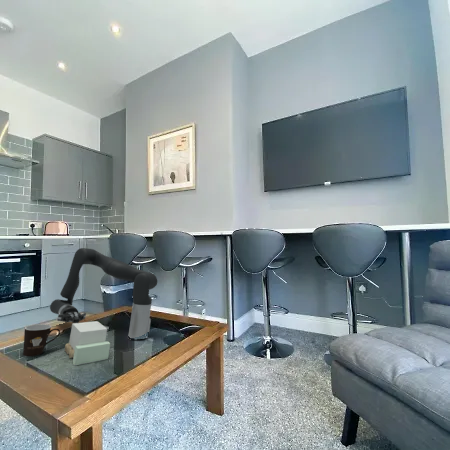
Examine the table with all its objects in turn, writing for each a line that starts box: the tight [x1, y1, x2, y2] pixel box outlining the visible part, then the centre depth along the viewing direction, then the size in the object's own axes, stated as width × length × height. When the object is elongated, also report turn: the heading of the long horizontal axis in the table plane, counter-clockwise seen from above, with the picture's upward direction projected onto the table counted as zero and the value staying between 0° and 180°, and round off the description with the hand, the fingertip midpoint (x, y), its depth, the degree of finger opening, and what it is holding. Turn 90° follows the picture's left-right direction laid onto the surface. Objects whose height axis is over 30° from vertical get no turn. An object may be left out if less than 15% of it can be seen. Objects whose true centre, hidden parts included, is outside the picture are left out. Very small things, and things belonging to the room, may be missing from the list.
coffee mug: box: [22, 323, 61, 357], centre depth 99 cm, size 12×9×10 cm
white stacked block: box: [68, 320, 108, 351], centre depth 103 cm, size 10×13×8 cm
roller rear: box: [64, 342, 71, 352], centre depth 107 cm, size 12×3×3 cm, turn 134°
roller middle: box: [66, 346, 73, 355], centre depth 105 cm, size 12×3×3 cm
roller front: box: [68, 349, 74, 359], centre depth 101 cm, size 12×3×3 cm
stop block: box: [72, 340, 111, 366], centre depth 97 cm, size 12×3×6 cm, turn 134°
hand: (76, 321), depth 117 cm, fingers closed
